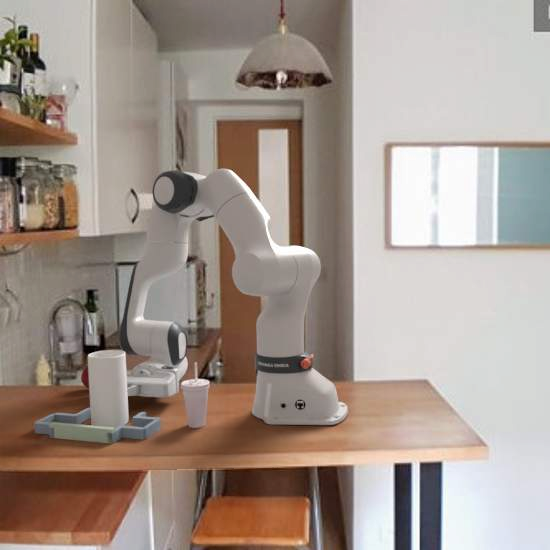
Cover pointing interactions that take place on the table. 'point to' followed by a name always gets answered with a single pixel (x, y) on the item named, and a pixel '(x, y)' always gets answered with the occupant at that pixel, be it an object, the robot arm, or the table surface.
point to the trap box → (95, 428)
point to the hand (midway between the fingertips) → (118, 394)
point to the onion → (85, 377)
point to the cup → (108, 388)
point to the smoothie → (195, 400)
